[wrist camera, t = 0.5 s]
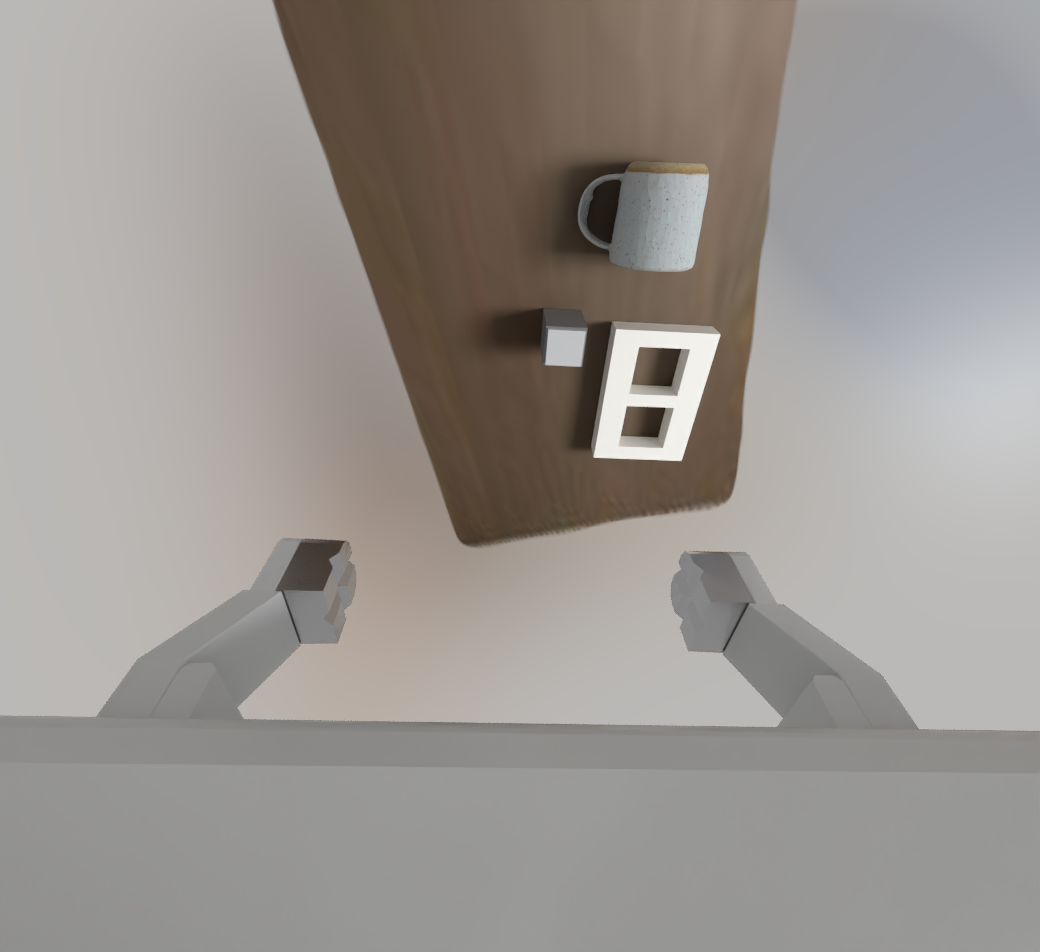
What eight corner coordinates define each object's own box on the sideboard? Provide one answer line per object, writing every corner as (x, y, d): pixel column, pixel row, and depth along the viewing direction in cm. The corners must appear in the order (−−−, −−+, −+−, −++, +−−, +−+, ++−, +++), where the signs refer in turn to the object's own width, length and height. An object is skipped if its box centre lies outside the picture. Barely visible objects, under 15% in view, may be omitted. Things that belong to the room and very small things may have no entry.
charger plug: (543, 308, 50) (546, 327, 45) (580, 309, 50) (588, 329, 46) (540, 344, 53) (543, 366, 48) (576, 346, 53) (582, 368, 48)
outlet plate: (612, 321, 51) (616, 329, 49) (712, 326, 52) (720, 334, 49) (590, 446, 60) (593, 457, 58) (675, 449, 61) (681, 460, 59)
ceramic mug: (698, 159, 43) (728, 164, 36) (679, 257, 47) (703, 277, 41) (580, 157, 43) (590, 162, 36) (573, 256, 47) (580, 275, 41)
